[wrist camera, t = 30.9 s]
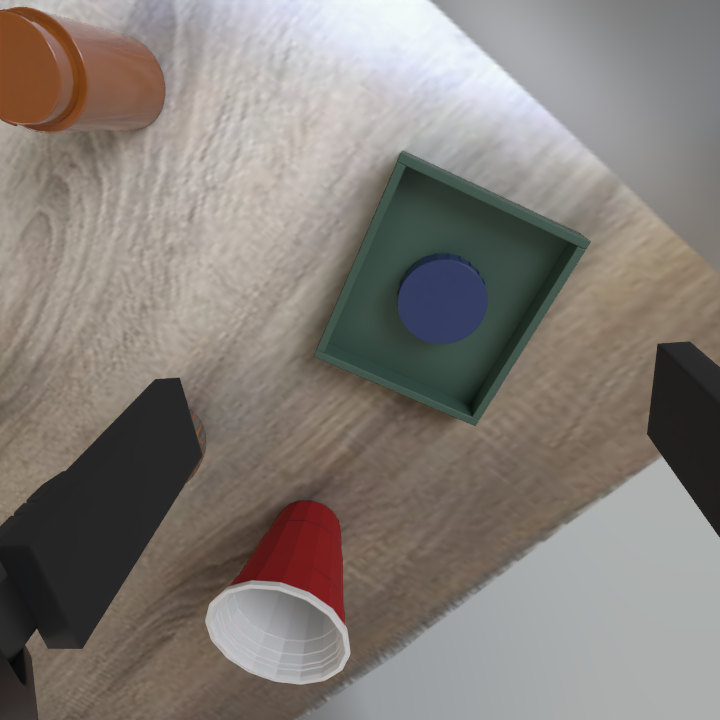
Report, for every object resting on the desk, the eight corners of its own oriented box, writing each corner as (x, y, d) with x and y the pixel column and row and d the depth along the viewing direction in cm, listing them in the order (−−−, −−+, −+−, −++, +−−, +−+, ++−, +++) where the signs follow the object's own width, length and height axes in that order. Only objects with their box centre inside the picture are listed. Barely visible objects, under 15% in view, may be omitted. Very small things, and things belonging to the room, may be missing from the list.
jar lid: (439, 351, 40) (440, 361, 38) (380, 295, 38) (378, 303, 37) (503, 295, 37) (507, 303, 36) (442, 233, 36) (444, 239, 34)
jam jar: (90, 18, 33) (-43, -22, 24) (174, 55, 34) (76, 30, 24) (77, 110, 36) (-49, 106, 26) (156, 143, 36) (60, 152, 26)
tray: (402, 150, 35) (401, 152, 32) (580, 233, 36) (591, 241, 33) (319, 343, 41) (313, 356, 39) (472, 410, 42) (475, 426, 40)
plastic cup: (226, 512, 49) (171, 624, 38) (313, 457, 45) (279, 563, 35) (302, 585, 52) (271, 709, 41) (390, 539, 48) (381, 660, 37)
